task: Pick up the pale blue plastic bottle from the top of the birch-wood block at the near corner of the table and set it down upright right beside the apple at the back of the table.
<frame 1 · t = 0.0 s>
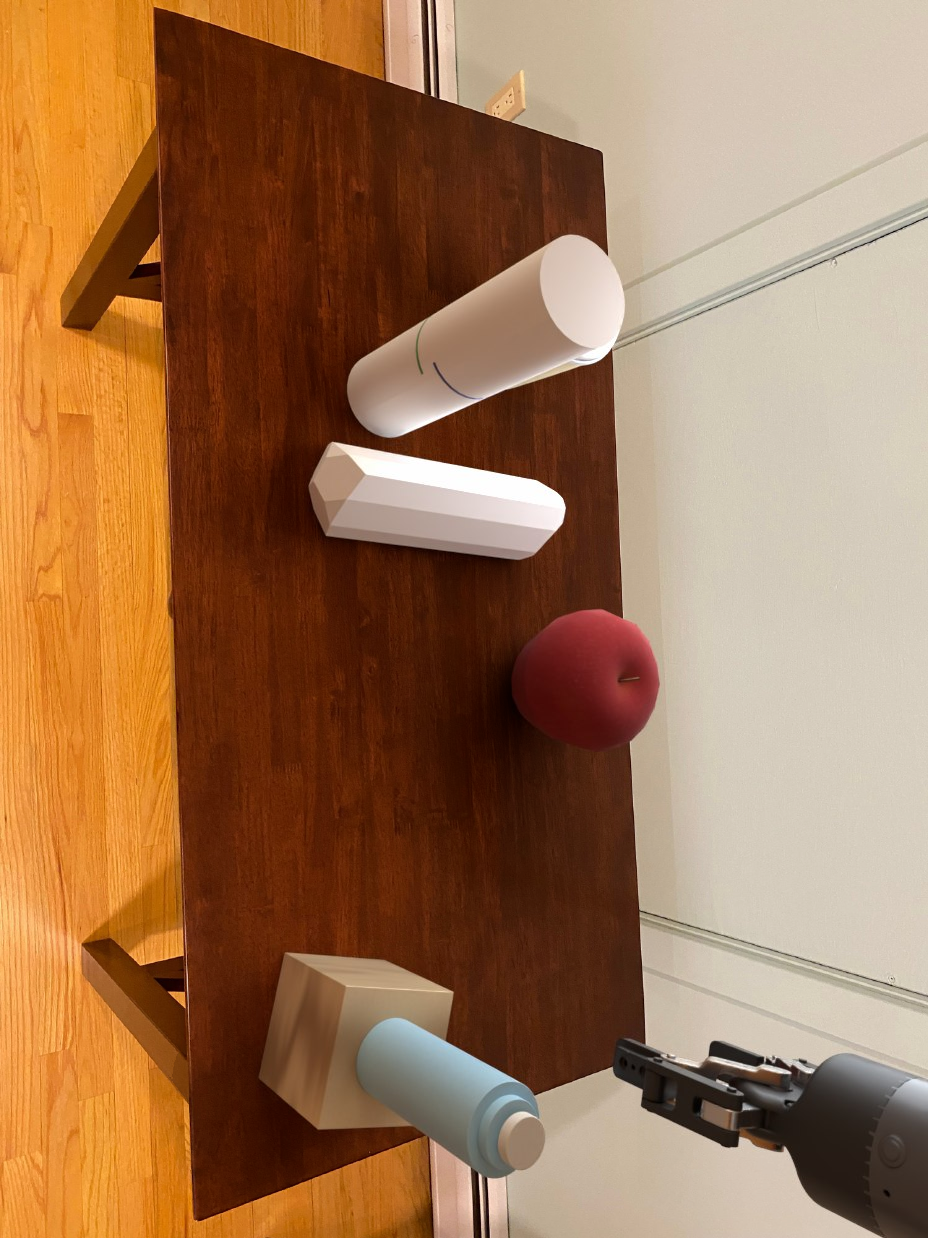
hand: (667, 1056, 58), 25 cm above the table, tool pointing down, fingers open, 8 cm apart
cube: (324, 1016, 72), on the table
crystal: (424, 507, 81), on the table
cylindrical container: (383, 396, 79), on the table
bottle: (389, 1057, 64), point 10 cm above the table, touching cube
apple: (533, 681, 86), on the table
coffee cup: (493, 349, 86), on the table
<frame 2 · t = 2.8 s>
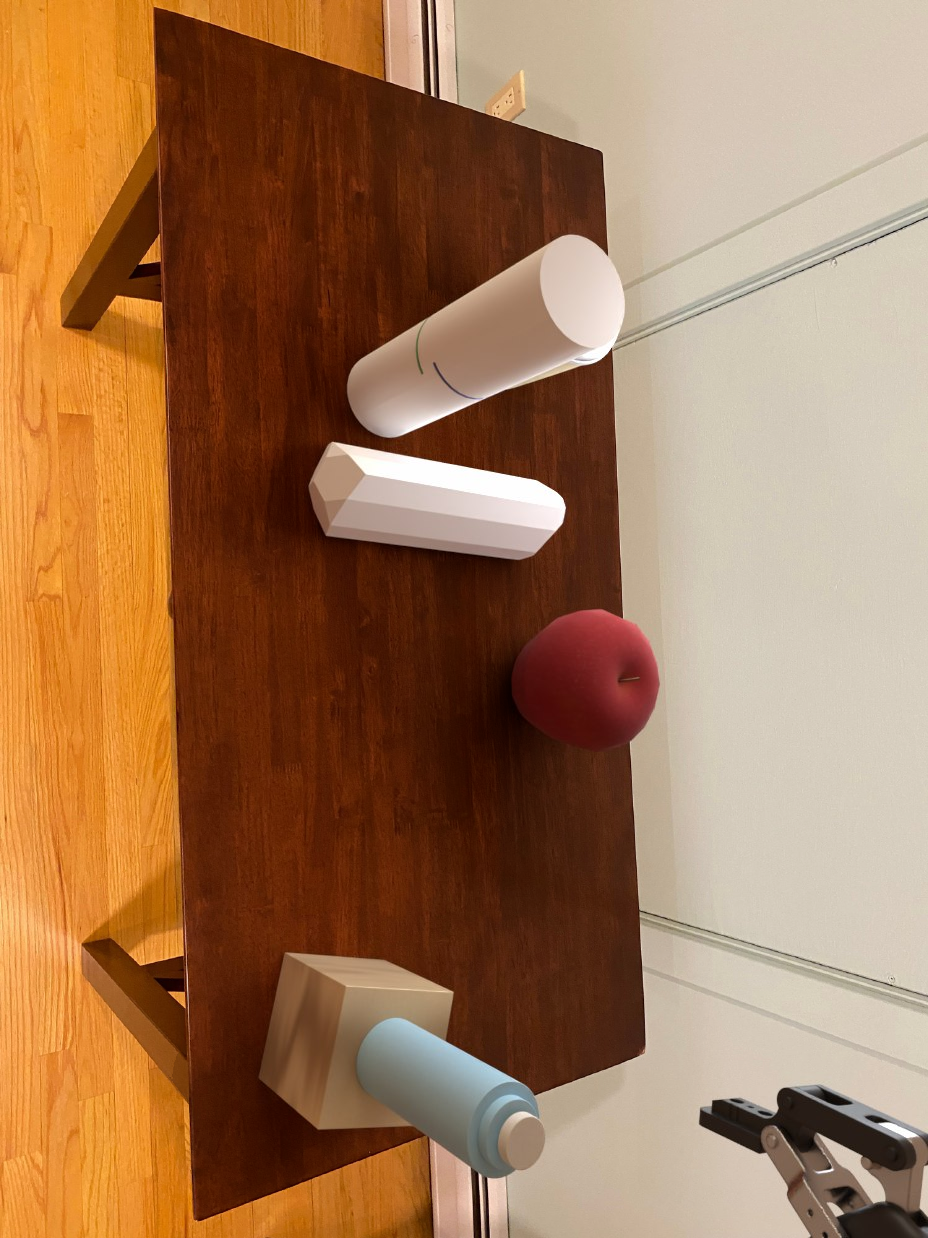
hand: (701, 1210, 44), 36 cm above the table, tool pointing down, fingers open, 8 cm apart
nothing on the table moved.
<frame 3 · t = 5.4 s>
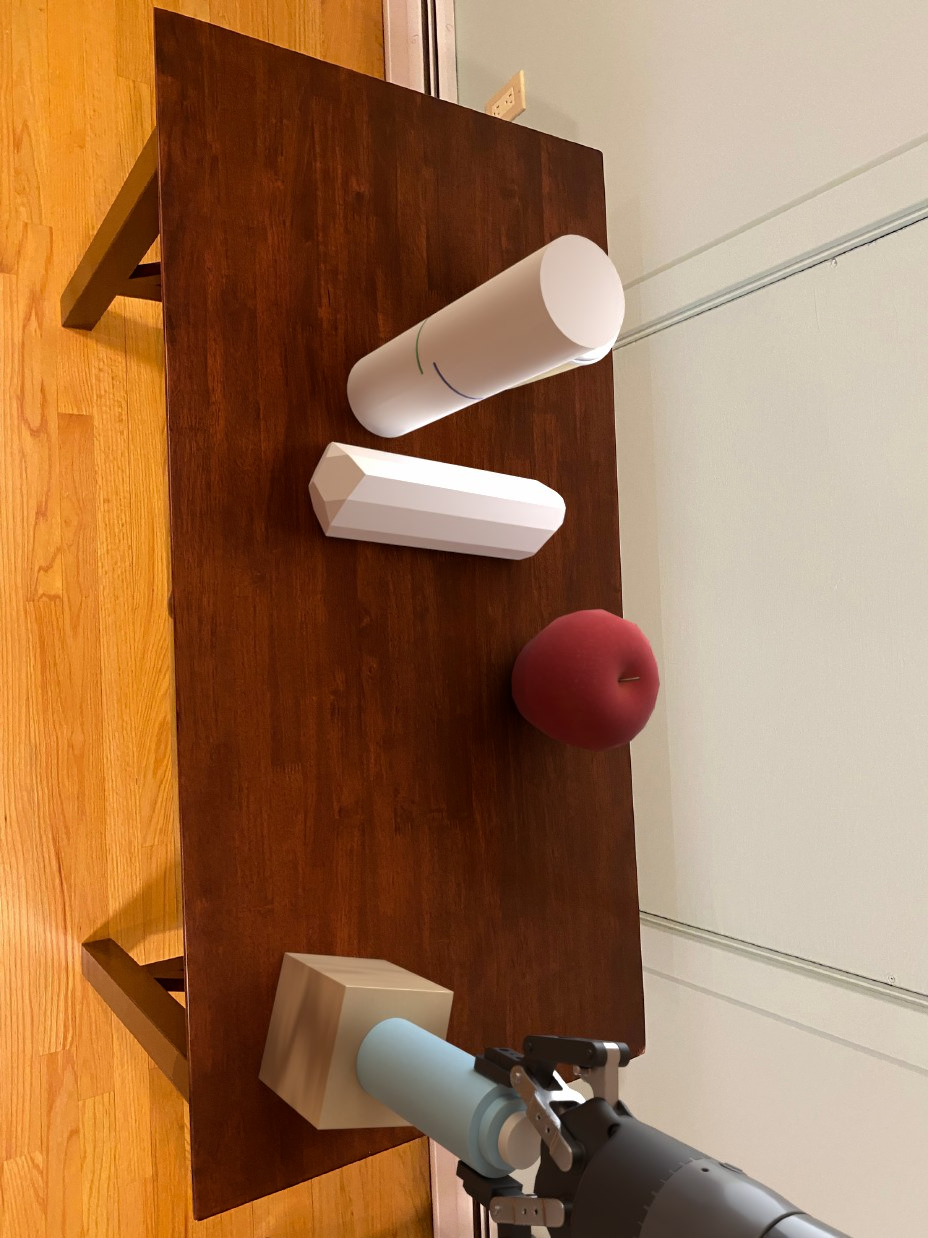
hand: (478, 1113, 55), 20 cm above the table, tool pointing down, fingers closed on bottle, 5 cm apart
bottle: (389, 1057, 64), point 10 cm above the table, touching gripper, cube
everything else where it was.
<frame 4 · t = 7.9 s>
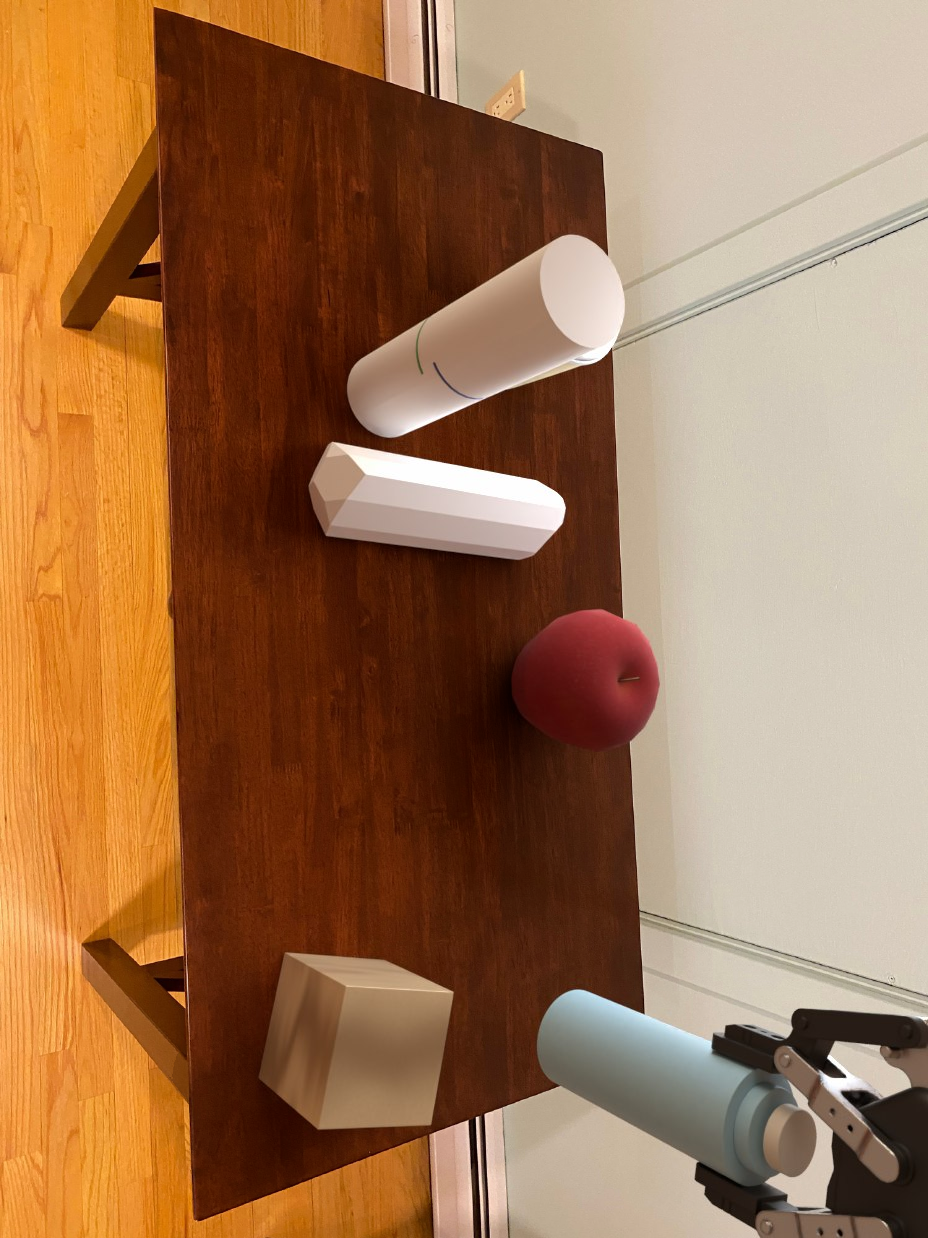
hand: (715, 1105, 45), 36 cm above the table, tool pointing down, fingers closed on bottle, 5 cm apart
bottle: (571, 1036, 53), point 26 cm above the table, touching gripper
everything else where it was.
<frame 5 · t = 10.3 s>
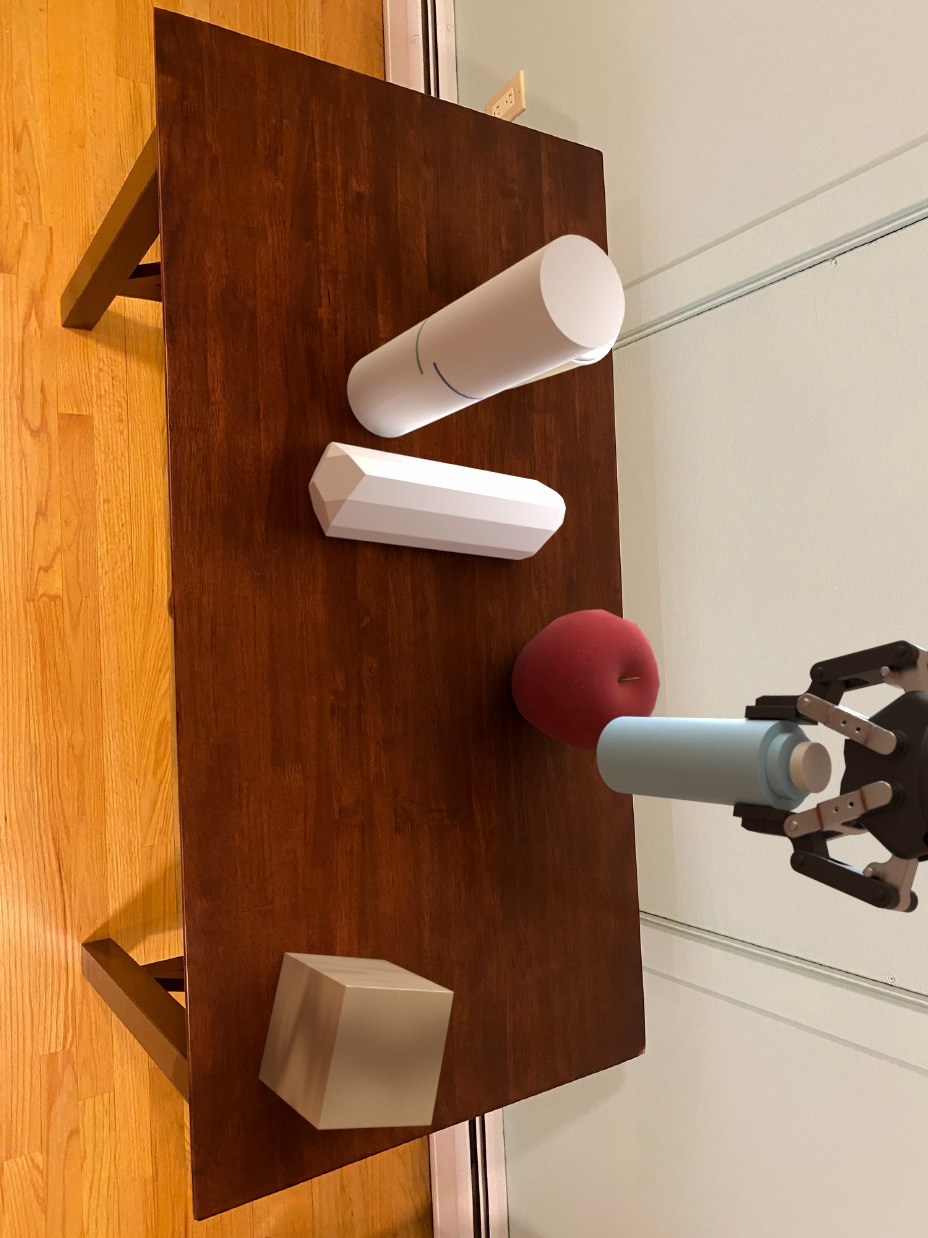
hand: (748, 763, 55), 31 cm above the table, tool pointing down, fingers closed on bottle, 5 cm apart
bottle: (624, 754, 64), point 21 cm above the table, touching gripper
everything else where it was.
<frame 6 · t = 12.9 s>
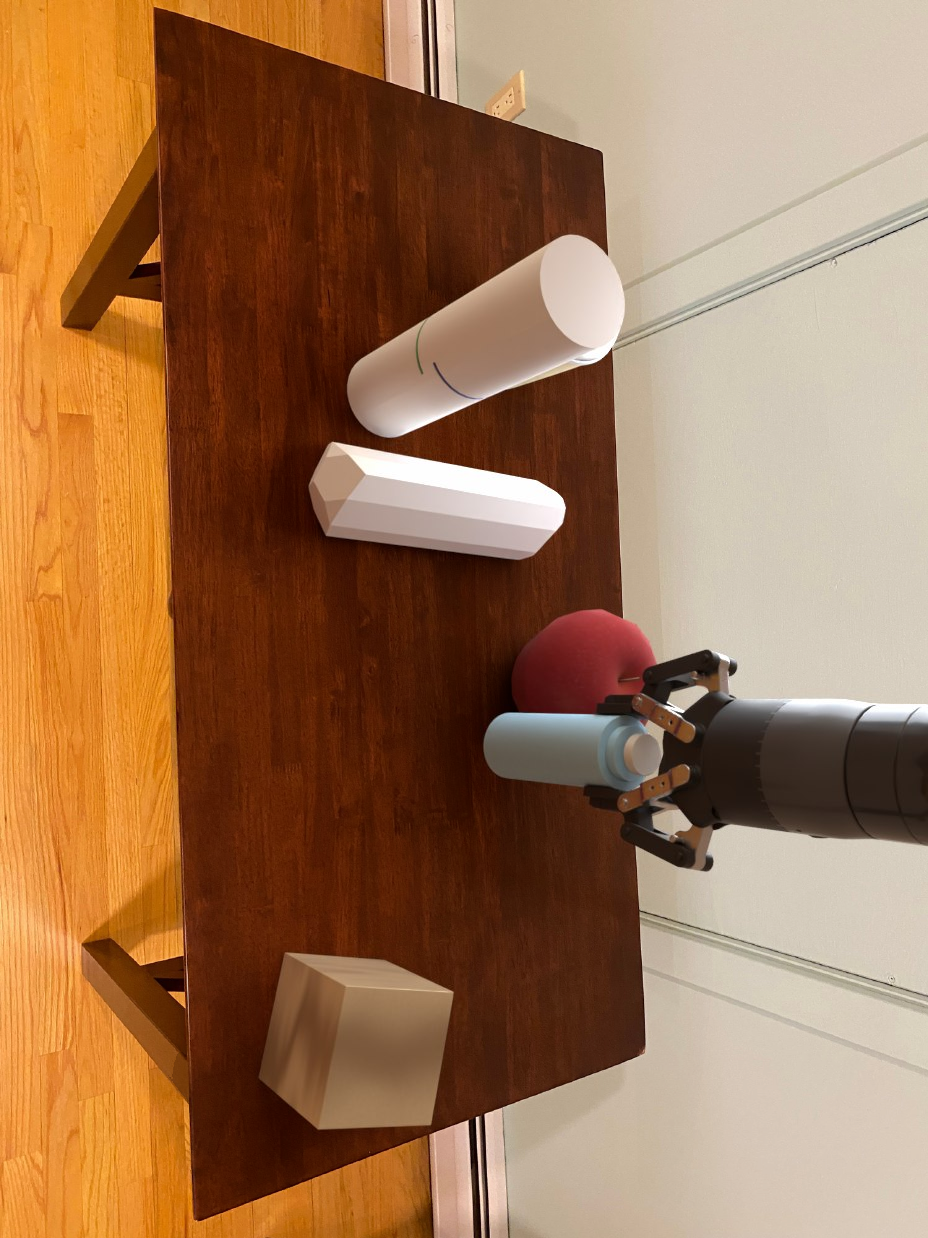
hand: (599, 751, 66), 18 cm above the table, tool pointing down, fingers closed on bottle, 5 cm apart
bottle: (509, 745, 74), point 8 cm above the table, touching gripper
everything else where it was.
when the fingers open (10 cm above the table, at t = 15.1 s): bottle stays where it is, on the table.
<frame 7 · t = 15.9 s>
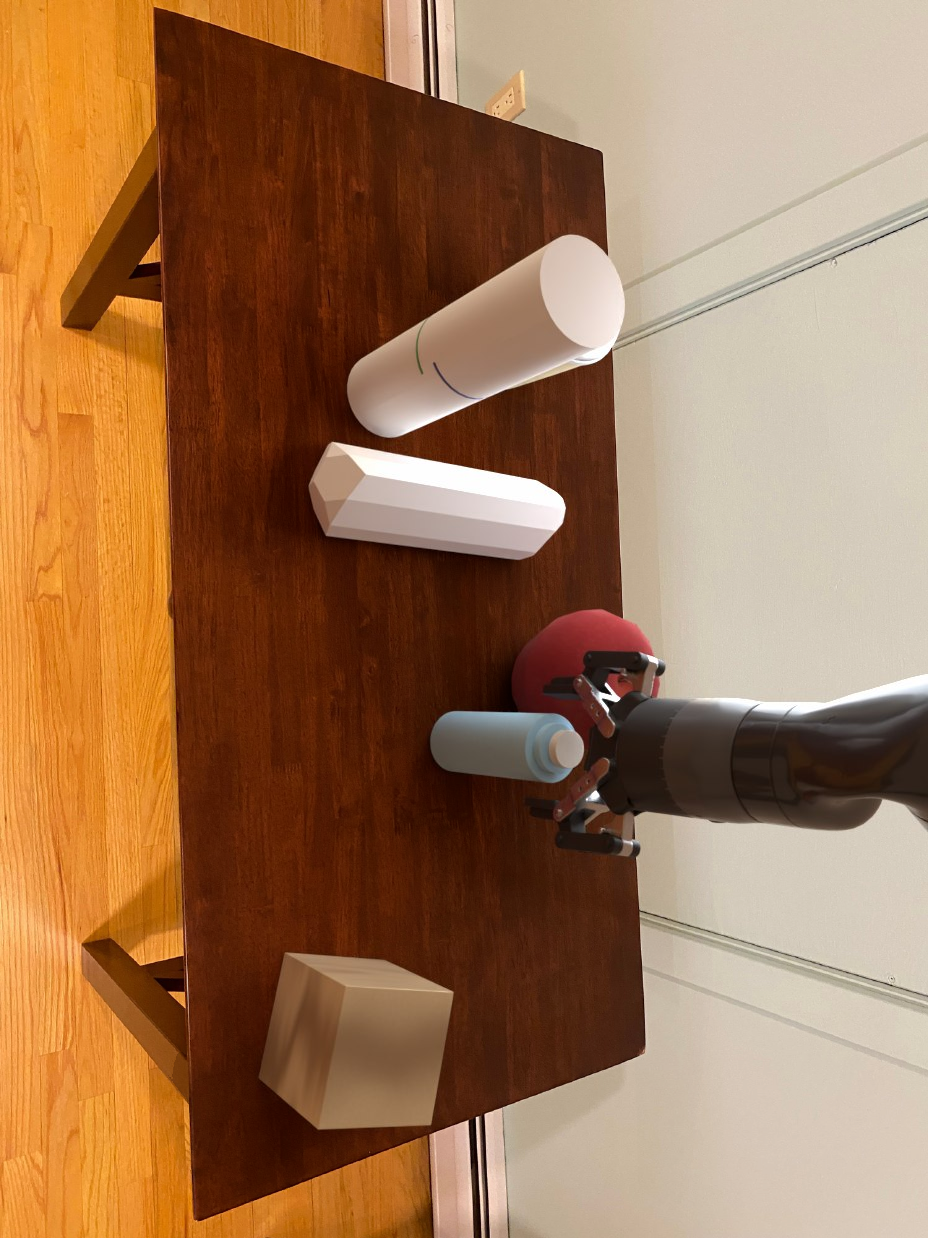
hand: (542, 747, 71), 12 cm above the table, tool pointing down, fingers open, 8 cm apart
bottle: (455, 741, 81), on the table
everything else where it was.
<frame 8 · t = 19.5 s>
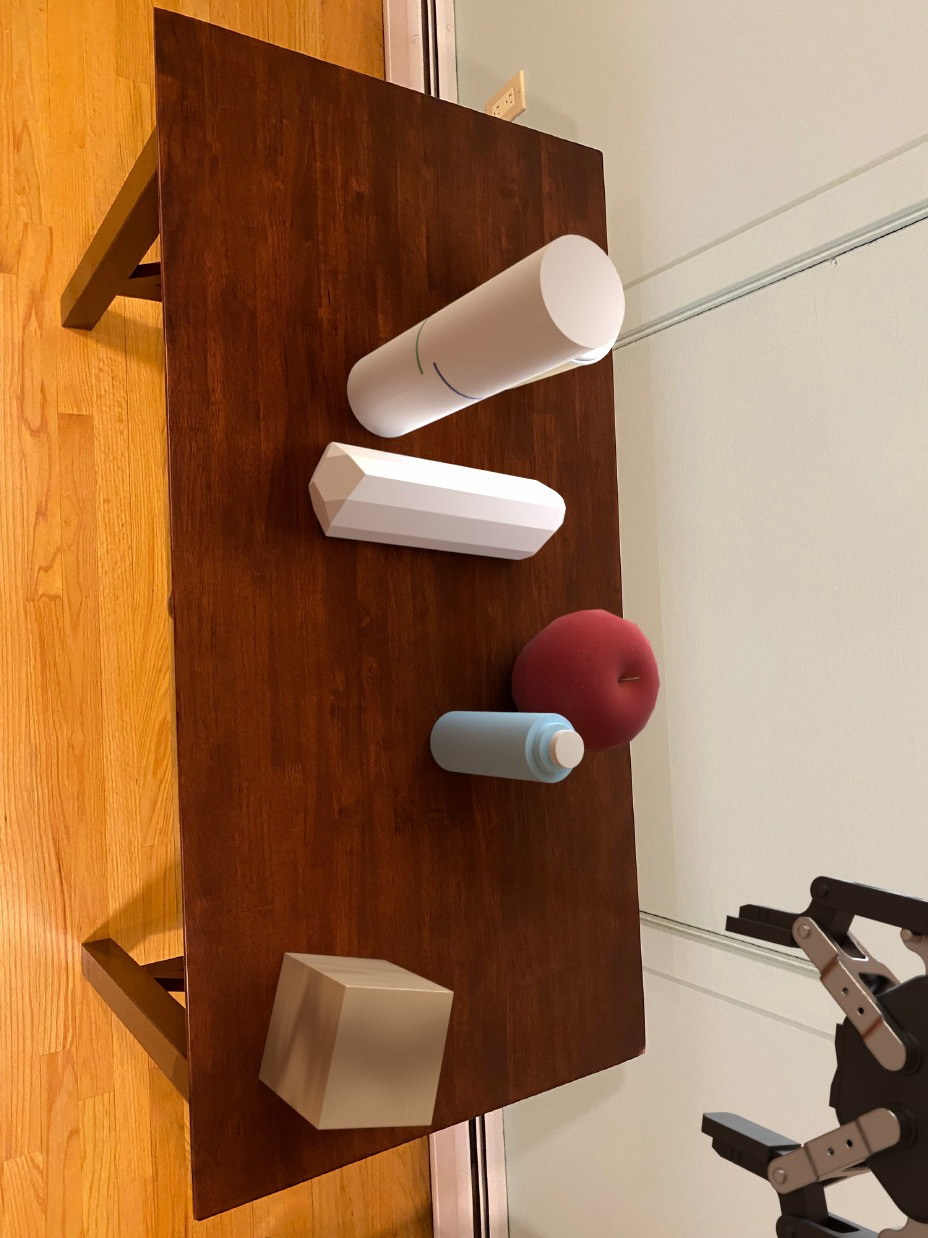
hand: (725, 1021, 42), 38 cm above the table, tool pointing down, fingers open, 8 cm apart
nothing on the table moved.
at the end: bottle 10.3 cm from the apple (horizontally); bottle tilted 0°; bottle on the table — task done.
